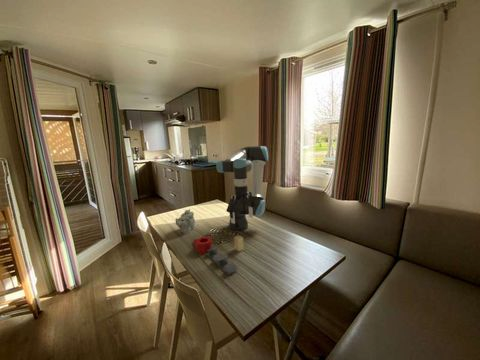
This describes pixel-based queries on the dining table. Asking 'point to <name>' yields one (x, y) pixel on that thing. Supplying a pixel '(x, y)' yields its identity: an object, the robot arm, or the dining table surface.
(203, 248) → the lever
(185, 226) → the grey lumpy piece
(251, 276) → the dining table surface
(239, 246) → the nut block
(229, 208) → the robot arm
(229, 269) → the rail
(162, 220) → the dining table surface
